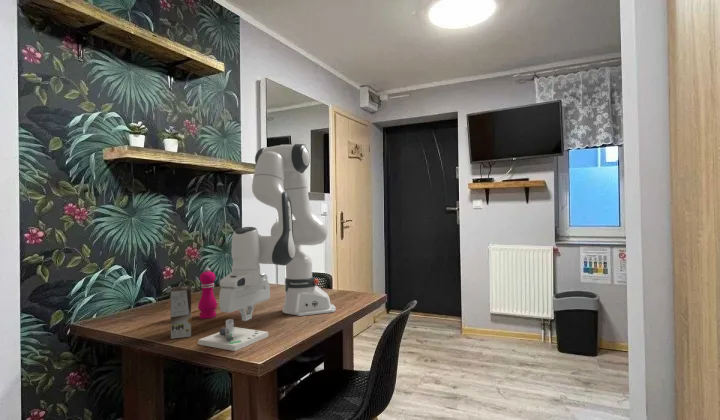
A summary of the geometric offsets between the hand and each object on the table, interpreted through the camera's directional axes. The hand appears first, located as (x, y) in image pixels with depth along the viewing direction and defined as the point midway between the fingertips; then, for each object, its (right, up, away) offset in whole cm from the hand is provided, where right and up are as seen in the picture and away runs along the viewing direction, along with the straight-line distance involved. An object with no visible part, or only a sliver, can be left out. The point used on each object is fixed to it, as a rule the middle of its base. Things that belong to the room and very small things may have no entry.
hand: (246, 319), depth 126 cm
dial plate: (-4, -7, +1) cm, 8 cm away
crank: (-6, -5, -1) cm, 8 cm away
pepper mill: (-25, -8, +32) cm, 41 cm away
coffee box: (-25, -8, +8) cm, 27 cm away
